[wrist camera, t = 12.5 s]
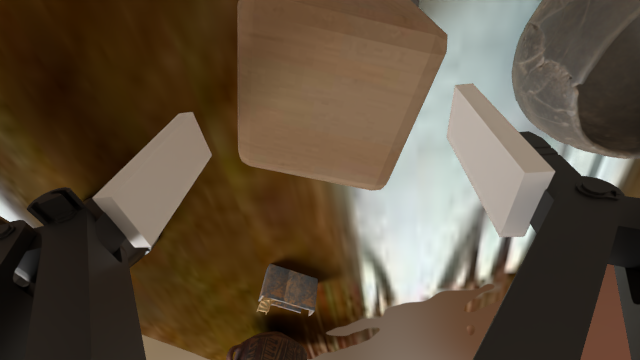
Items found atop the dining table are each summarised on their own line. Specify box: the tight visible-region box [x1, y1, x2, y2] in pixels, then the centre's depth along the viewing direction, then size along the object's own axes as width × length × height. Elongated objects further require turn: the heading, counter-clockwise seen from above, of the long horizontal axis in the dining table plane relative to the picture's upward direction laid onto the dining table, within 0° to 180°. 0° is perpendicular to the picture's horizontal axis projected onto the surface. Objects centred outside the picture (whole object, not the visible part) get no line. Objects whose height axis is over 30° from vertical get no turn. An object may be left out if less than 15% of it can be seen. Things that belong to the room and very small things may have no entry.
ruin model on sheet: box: [257, 264, 318, 316], centre depth 60 cm, size 11×3×10 cm, turn 66°
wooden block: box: [237, 0, 447, 190], centre depth 23 cm, size 10×10×20 cm
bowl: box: [512, 0, 640, 159], centre depth 24 cm, size 18×18×13 cm
